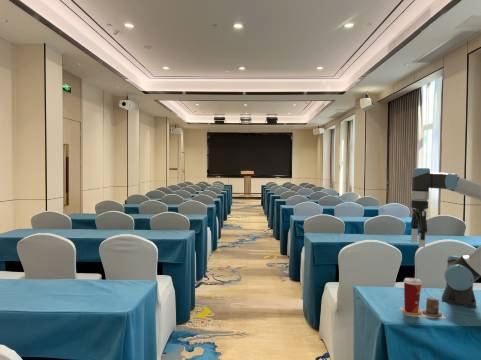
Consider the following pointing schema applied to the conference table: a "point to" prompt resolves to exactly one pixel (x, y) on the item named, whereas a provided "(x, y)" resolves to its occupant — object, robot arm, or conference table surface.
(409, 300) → the paper cup
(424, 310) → the grey pad
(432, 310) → the brown short cylinder
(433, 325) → the conference table surface
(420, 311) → the terracotta pad
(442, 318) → the board
